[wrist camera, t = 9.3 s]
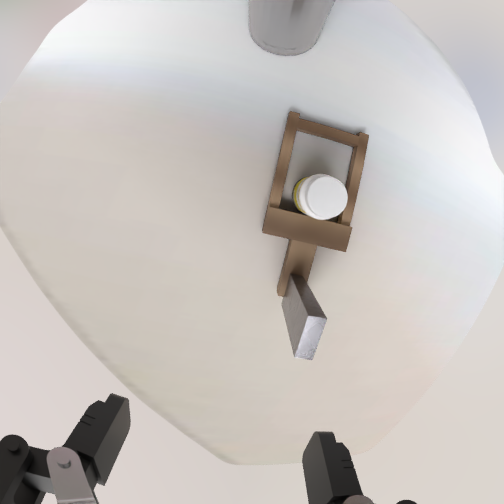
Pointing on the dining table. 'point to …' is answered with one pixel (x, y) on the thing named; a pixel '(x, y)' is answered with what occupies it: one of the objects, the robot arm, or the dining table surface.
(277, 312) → the dining table surface
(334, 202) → the supplement bottle
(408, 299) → the dining table surface
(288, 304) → the strip frame
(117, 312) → the dining table surface
